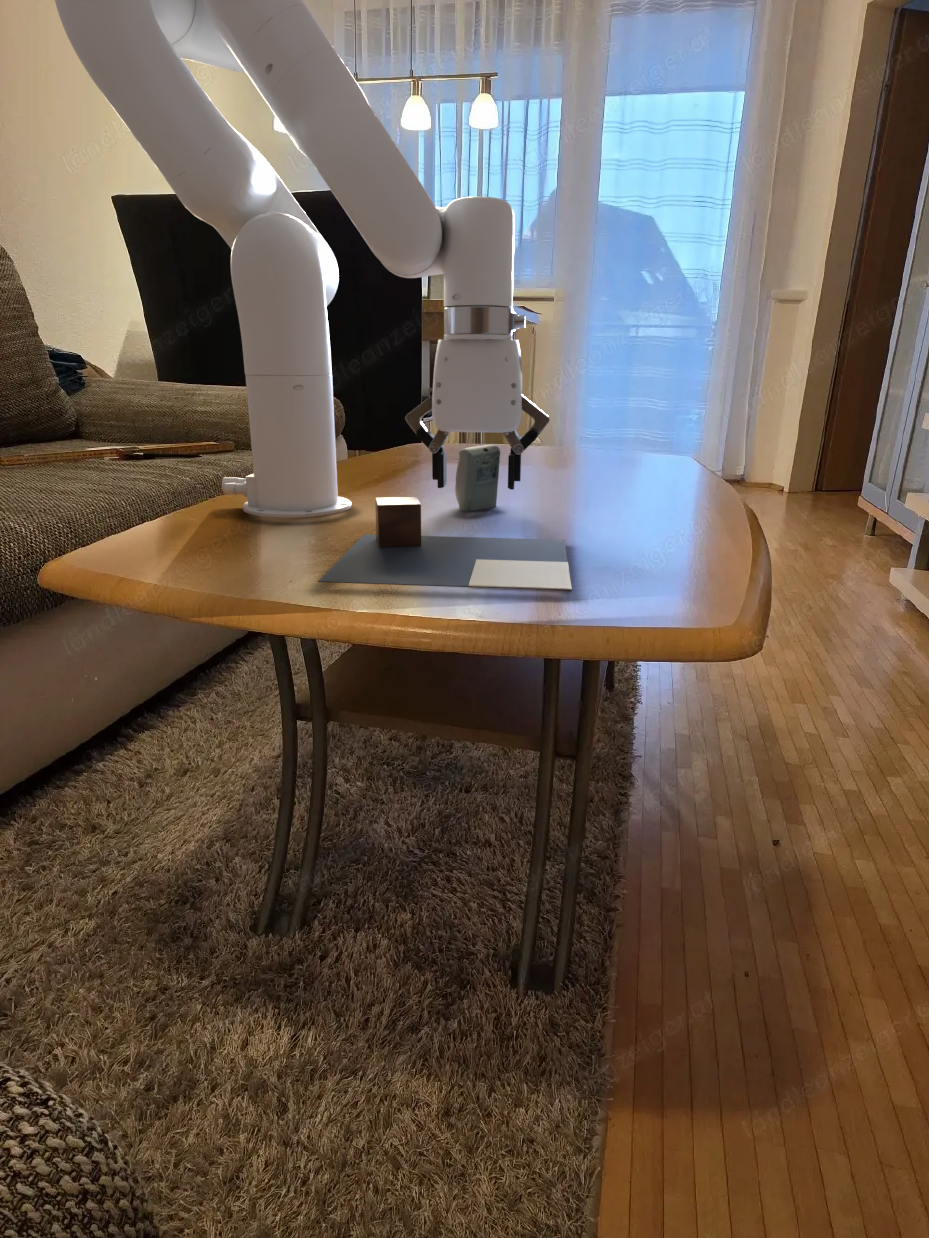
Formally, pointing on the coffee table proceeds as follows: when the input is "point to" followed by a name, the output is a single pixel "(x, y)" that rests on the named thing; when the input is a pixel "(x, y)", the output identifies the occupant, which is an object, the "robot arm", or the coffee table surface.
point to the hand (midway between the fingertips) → (476, 486)
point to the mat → (457, 563)
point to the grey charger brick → (477, 477)
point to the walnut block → (398, 521)
